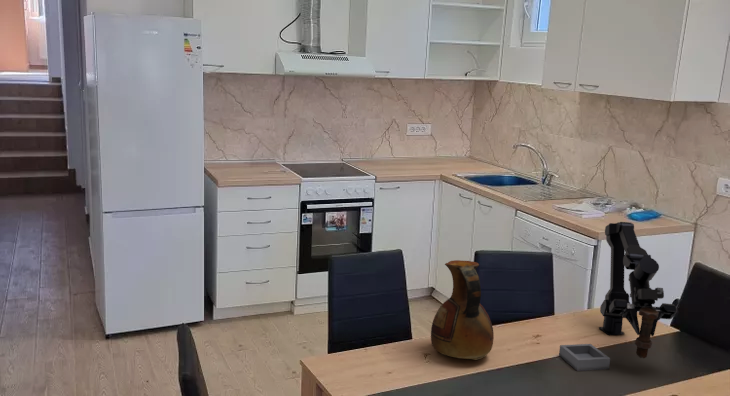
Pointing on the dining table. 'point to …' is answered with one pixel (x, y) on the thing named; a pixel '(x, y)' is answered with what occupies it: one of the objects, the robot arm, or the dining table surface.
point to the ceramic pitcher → (463, 317)
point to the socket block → (584, 357)
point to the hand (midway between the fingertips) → (645, 335)
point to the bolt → (645, 331)
